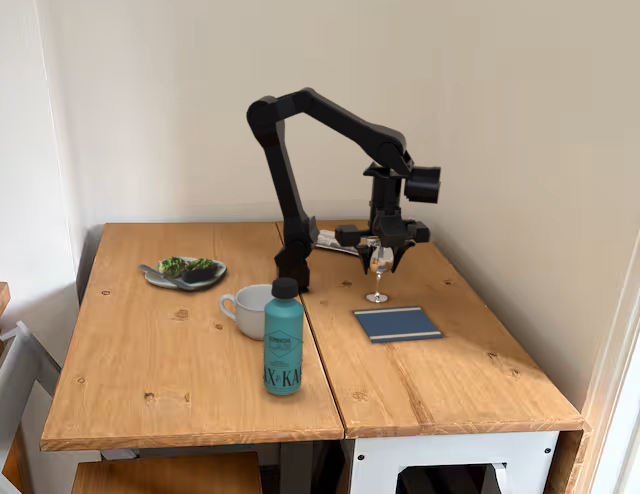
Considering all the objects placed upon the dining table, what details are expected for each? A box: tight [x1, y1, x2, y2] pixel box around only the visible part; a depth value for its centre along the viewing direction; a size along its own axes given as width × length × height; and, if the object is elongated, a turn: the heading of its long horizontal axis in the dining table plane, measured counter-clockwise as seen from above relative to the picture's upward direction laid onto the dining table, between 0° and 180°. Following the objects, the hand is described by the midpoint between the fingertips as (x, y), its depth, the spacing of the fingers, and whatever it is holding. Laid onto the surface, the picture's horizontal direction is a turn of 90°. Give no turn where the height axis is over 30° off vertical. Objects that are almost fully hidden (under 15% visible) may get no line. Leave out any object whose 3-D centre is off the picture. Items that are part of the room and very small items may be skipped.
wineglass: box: [366, 239, 395, 303], centre depth 149 cm, size 6×6×12 cm
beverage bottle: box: [262, 278, 305, 396], centre depth 113 cm, size 6×7×20 cm
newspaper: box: [315, 229, 375, 256], centre depth 177 cm, size 23×12×2 cm, turn 58°
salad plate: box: [137, 255, 228, 293], centre depth 159 cm, size 19×18×5 cm
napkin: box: [352, 305, 444, 344], centre depth 141 cm, size 14×14×1 cm
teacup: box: [217, 283, 275, 341], centre depth 136 cm, size 14×11×8 cm
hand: (378, 273), depth 149 cm, fingers closed on wineglass, 5 cm apart
